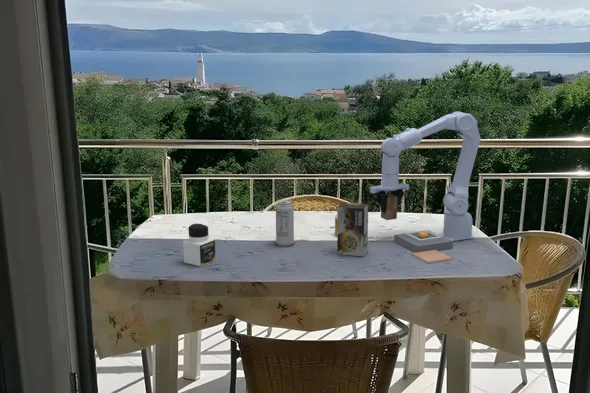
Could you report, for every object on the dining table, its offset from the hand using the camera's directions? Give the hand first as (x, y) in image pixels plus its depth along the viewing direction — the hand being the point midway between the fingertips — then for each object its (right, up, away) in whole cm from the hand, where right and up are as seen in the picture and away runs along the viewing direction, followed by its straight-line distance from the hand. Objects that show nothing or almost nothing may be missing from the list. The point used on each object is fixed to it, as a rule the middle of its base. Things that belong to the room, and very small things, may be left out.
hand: (389, 211), depth 199 cm
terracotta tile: (+11, -14, -18) cm, 25 cm away
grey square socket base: (+11, -11, -5) cm, 16 cm away
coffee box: (-14, -13, -13) cm, 23 cm away
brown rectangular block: (0, -2, +1) cm, 2 cm away
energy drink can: (-36, -11, -4) cm, 38 cm away
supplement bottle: (-16, -9, +6) cm, 19 cm away
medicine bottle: (-63, -15, -21) cm, 68 cm away
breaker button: (+11, -9, -6) cm, 15 cm away
